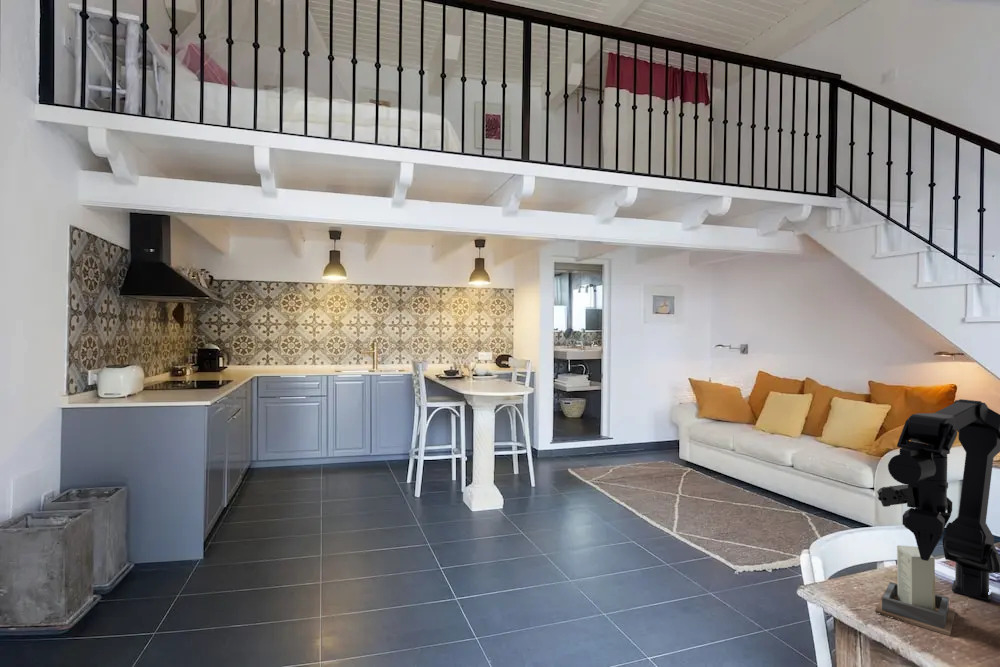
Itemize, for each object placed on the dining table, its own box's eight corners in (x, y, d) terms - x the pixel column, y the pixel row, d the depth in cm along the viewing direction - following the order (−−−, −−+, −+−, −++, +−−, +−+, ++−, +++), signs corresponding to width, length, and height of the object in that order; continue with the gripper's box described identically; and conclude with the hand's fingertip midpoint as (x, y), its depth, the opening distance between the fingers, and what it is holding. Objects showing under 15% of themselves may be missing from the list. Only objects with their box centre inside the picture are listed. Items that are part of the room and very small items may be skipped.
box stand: (885, 592, 122) (885, 578, 121) (955, 612, 113) (955, 597, 113) (875, 613, 113) (875, 598, 113) (950, 635, 105) (950, 619, 105)
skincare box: (936, 618, 110) (937, 558, 109) (910, 616, 110) (911, 556, 110) (919, 603, 116) (920, 546, 116) (895, 600, 117) (896, 544, 116)
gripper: (889, 462, 124) (888, 530, 124) (872, 478, 110) (871, 555, 111) (953, 471, 116) (951, 544, 116) (943, 490, 103) (941, 572, 103)
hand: (927, 553), depth 112 cm, fingers open, 9 cm apart
